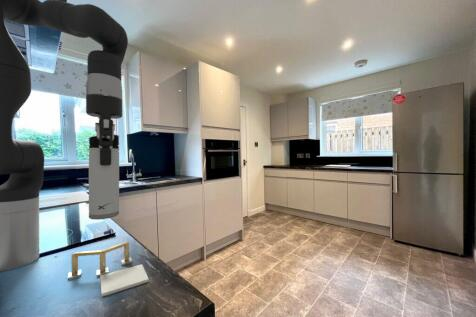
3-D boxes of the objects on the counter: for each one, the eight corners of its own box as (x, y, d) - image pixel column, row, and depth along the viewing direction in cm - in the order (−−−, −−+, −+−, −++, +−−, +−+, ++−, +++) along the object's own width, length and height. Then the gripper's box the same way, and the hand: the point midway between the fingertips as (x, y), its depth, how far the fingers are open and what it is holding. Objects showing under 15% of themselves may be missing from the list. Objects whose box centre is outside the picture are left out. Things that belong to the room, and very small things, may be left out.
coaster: (101, 296, 42) (101, 294, 42) (100, 278, 48) (100, 275, 48) (148, 281, 47) (148, 279, 47) (141, 266, 54) (141, 264, 54)
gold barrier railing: (66, 285, 45) (66, 260, 45) (68, 275, 49) (68, 252, 49) (133, 267, 53) (133, 245, 53) (130, 259, 57) (130, 239, 57)
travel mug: (105, 220, 47) (105, 133, 47) (81, 218, 48) (82, 133, 48) (125, 213, 53) (126, 136, 53) (104, 211, 54) (104, 136, 54)
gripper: (86, 101, 54) (86, 164, 54) (84, 85, 43) (84, 166, 43) (119, 105, 59) (119, 163, 59) (125, 92, 47) (125, 165, 47)
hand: (104, 164), depth 51 cm, fingers closed on travel mug, 6 cm apart
